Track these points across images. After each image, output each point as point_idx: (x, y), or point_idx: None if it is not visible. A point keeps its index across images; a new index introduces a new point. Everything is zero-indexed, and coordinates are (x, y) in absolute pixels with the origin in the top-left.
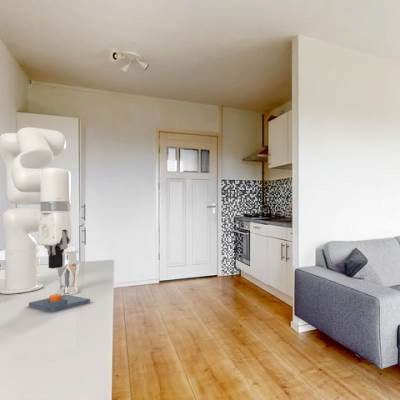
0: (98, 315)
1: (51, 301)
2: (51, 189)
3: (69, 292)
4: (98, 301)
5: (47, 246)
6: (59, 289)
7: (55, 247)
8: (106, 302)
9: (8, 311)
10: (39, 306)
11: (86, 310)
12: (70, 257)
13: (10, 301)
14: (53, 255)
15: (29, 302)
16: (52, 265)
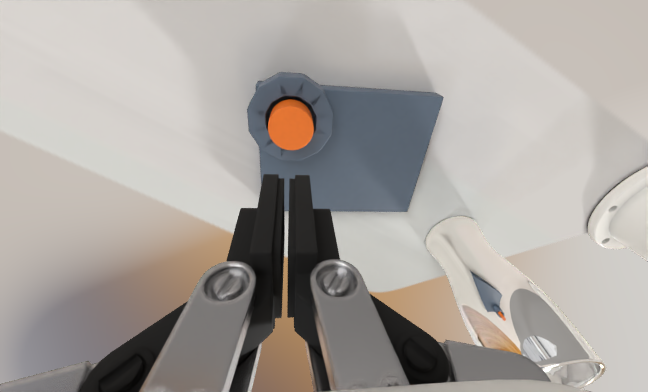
0: (60, 129)
1: (284, 101)
2: None
3: (433, 234)
4: None
5: (394, 374)
6: (471, 229)
7: (153, 386)
8: (226, 225)
9: (462, 15)
10: (360, 90)
11: (177, 150)
12: None
13: (577, 110)
14: (252, 267)
15: (441, 98)
16: (263, 191)
